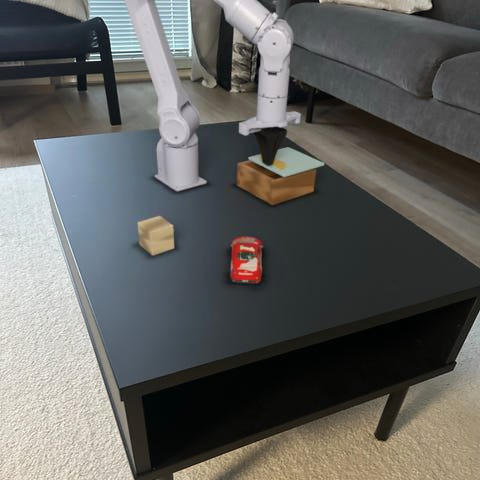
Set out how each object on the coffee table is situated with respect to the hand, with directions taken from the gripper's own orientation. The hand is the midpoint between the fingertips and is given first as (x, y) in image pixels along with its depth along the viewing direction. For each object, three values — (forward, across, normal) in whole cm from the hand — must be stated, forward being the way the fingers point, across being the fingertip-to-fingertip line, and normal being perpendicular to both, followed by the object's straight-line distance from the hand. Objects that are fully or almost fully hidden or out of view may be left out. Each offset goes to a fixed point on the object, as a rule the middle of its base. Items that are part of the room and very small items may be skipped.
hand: (267, 163), depth 105 cm
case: (+6, +3, 0) cm, 7 cm away
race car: (+6, -22, -21) cm, 31 cm away
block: (+6, -31, -7) cm, 33 cm away
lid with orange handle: (+1, +5, 0) cm, 5 cm away
